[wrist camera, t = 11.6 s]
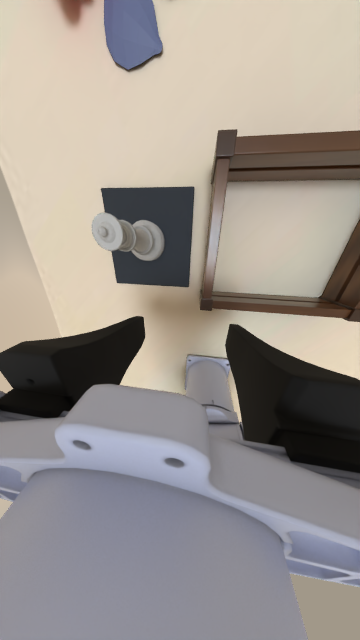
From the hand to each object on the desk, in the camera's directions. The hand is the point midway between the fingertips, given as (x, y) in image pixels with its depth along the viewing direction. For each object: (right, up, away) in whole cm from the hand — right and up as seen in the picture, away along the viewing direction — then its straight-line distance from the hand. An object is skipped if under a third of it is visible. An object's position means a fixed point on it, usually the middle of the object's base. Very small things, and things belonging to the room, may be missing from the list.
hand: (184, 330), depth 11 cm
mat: (-4, +11, +7) cm, 14 cm away
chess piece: (-5, +11, +7) cm, 14 cm away
